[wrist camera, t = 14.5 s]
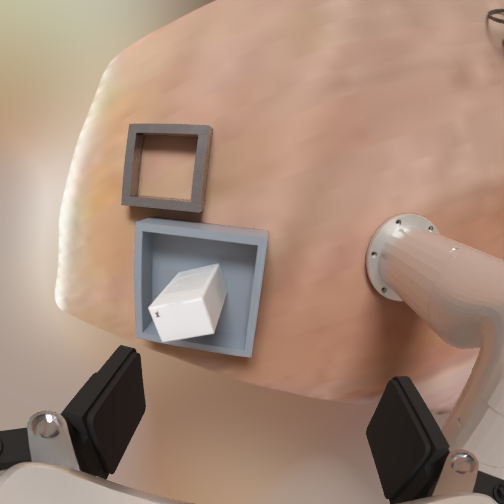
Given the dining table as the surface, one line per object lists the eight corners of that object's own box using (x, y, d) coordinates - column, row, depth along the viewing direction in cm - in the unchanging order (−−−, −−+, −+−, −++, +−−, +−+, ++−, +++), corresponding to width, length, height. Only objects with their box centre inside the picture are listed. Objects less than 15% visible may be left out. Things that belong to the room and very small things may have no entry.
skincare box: (187, 300, 41) (160, 343, 29) (178, 271, 40) (145, 306, 28) (229, 291, 40) (215, 335, 28) (221, 261, 39) (202, 295, 27)
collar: (212, 129, 36) (209, 125, 34) (203, 210, 39) (199, 212, 36) (137, 126, 36) (129, 123, 34) (129, 203, 39) (121, 205, 36)
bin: (267, 230, 39) (267, 237, 34) (253, 339, 43) (251, 357, 38) (150, 216, 39) (135, 222, 34) (148, 322, 43) (136, 337, 38)
